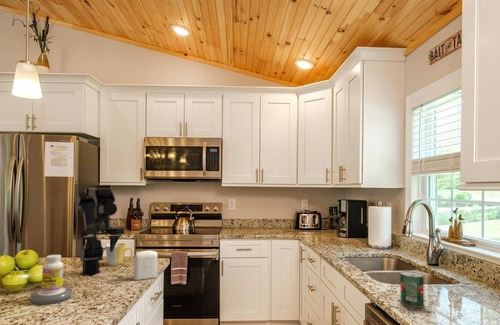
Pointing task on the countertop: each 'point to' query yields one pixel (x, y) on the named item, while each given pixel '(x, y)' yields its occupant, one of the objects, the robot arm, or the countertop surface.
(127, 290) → the countertop surface
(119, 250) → the mug
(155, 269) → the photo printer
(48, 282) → the supplement bottle
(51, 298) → the charcoal trivet
